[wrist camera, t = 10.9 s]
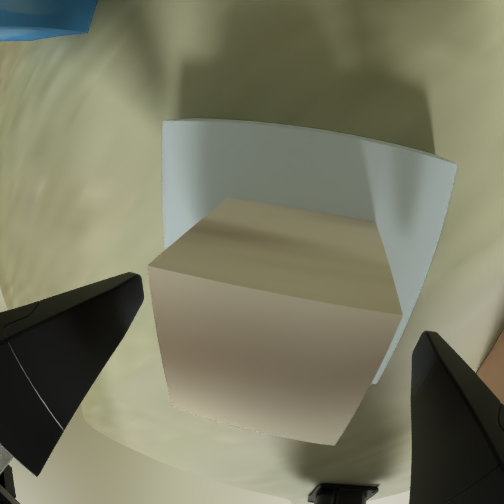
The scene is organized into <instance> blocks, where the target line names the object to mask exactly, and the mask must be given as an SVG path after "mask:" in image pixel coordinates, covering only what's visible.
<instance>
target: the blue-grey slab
mask: <svg viewBox="0 0 504 504" xmlns="http://www.w3.org/2000/svg"><path fill="white" fill-rule="evenodd" d="M457 166H458V165H457V164H455V163H453V162H451V161H449V160H446V159H444V158H442V157H440V156H437V155H435V154H432V153H428V152H424V151H421V150H417V149H413V148H409V147H406V146H402V145H397V144H393V143H389V142H385V141H380V140H376V139H371V138H366V137H361V136H356V135H351V134H345V133H340V132H334V131H328V130H322V129H315V128H308V127H301V126H293V125H285V124H276V123H266V122H255V121H243V120H228V119H206V118H188V119H176V120H165V121H163V137H162V193H163V224H164V245H165V250H166V249H167V248H168V247H169V246H170V245H172V244H173V243H174V242H175V241H176V240H177V239H179V238H180V237H181V236H182V235H183V234H184V233H186V232H187V231H188V230H189V229H190V228H192V227H193V226H194V225H195V224H196V223H198V222H199V221H200V220H201V219H202V218H204V217H205V216H206V215H207V214H208V213H210V212H211V211H212V210H213V209H215V208H216V207H217V206H218V205H220V204H221V203H222V202H223V201H224V200H226V199H227V198H232V199H240V200H247V201H254V202H261V203H268V204H274V205H281V206H287V207H294V208H300V209H306V210H312V211H318V212H324V213H330V214H335V215H341V216H347V217H352V218H357V219H363V220H368V221H373V222H376V225H377V228H378V231H379V234H380V237H381V240H382V243H383V246H384V249H385V252H386V256H387V259H388V262H389V266H390V269H391V272H392V276H393V279H394V283H395V287H396V290H397V294H398V298H399V302H400V306H401V310H402V314H403V317H402V319H401V321H400V324H399V326H398V328H397V331H396V333H395V335H394V338H393V340H392V342H391V344H390V346H389V349H388V351H387V353H386V355H385V357H384V359H383V361H382V363H381V365H380V367H379V369H378V371H377V373H376V375H375V377H374V379H373V381H372V383H371V384H377V383H378V381H379V379H380V377H381V375H382V373H383V372H384V370H385V368H386V366H387V364H388V362H389V360H390V358H391V356H392V354H393V352H394V350H395V348H396V346H397V344H398V342H399V340H400V338H401V336H402V333H403V331H404V329H405V327H406V325H407V322H408V320H409V318H410V316H411V313H412V311H413V309H414V306H415V304H416V301H417V299H418V296H419V294H420V291H421V289H422V286H423V284H424V281H425V278H426V276H427V273H428V270H429V267H430V264H431V262H432V259H433V256H434V253H435V250H436V247H437V243H438V240H439V237H440V234H441V230H442V227H443V224H444V220H445V216H446V213H447V209H448V205H449V201H450V197H451V193H452V189H453V184H454V180H455V175H456V171H457Z"/></svg>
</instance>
